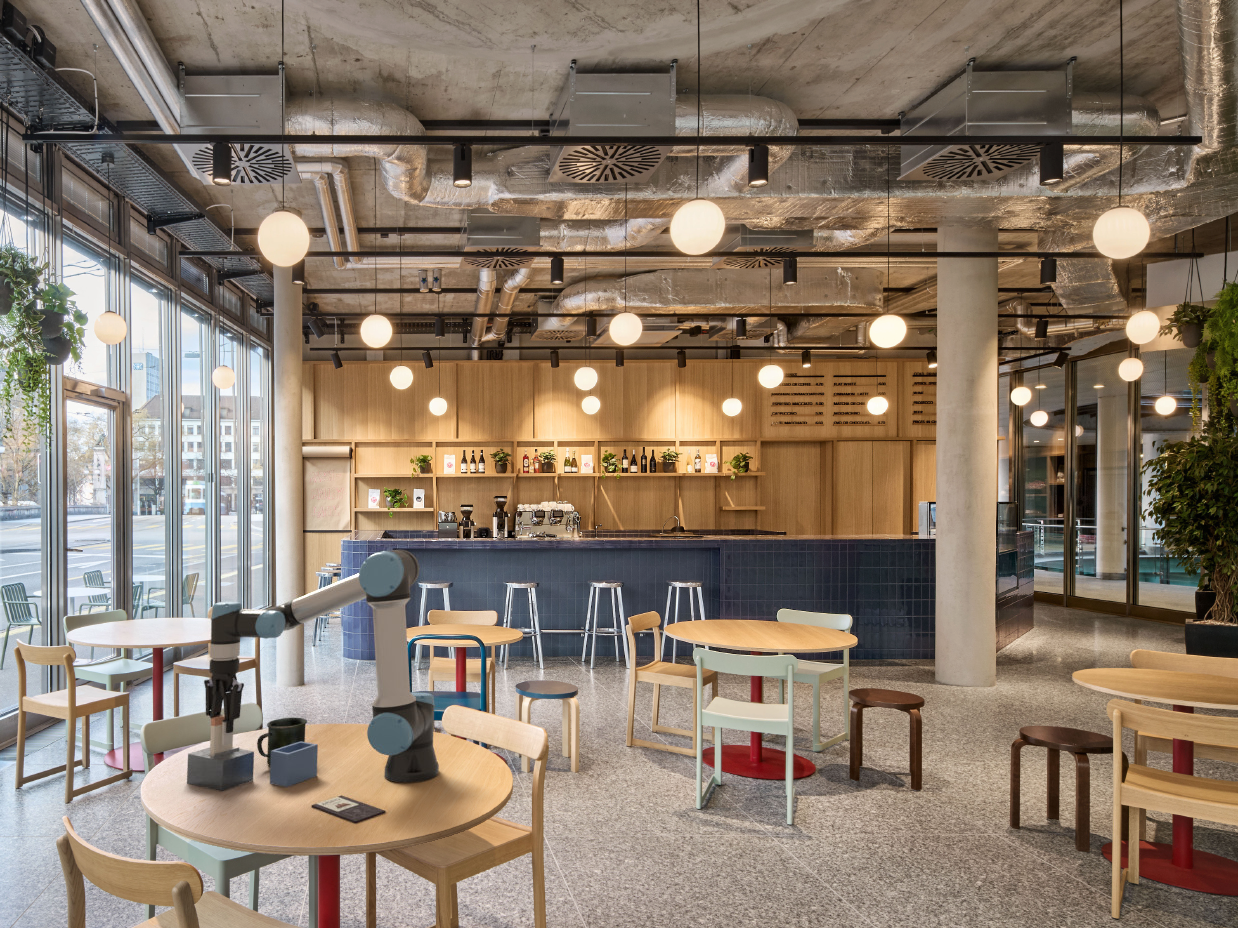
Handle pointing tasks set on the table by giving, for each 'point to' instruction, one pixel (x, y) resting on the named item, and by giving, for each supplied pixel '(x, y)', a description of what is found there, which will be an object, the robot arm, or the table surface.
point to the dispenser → (220, 768)
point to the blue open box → (293, 763)
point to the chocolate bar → (348, 809)
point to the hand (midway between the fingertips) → (221, 742)
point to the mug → (282, 734)
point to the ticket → (218, 736)
